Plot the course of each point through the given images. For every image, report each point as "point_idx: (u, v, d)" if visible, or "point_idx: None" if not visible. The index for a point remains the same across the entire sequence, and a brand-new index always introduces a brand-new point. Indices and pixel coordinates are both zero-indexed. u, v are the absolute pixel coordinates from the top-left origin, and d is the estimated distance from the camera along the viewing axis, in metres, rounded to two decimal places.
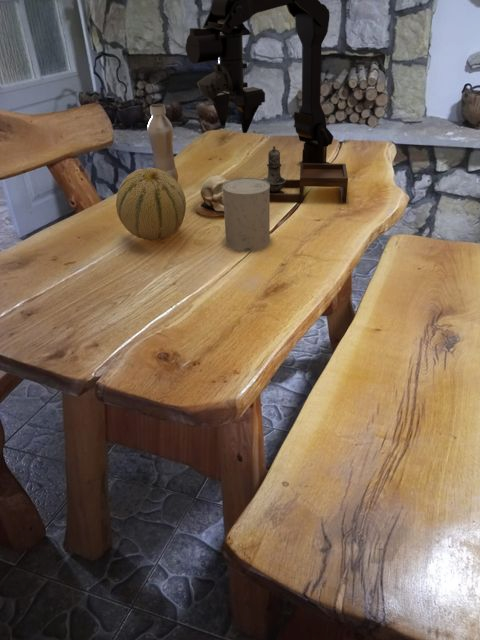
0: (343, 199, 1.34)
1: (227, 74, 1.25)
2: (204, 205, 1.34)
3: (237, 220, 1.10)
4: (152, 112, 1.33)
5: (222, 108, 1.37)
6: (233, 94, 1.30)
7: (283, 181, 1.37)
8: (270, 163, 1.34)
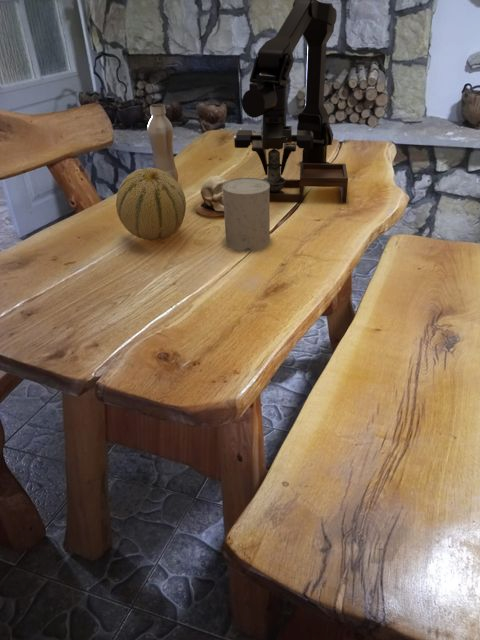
0: (343, 199, 1.34)
1: (284, 123, 1.27)
2: (204, 205, 1.34)
3: (237, 220, 1.10)
4: (152, 112, 1.33)
5: (266, 158, 1.35)
6: None
7: (283, 181, 1.37)
8: (270, 163, 1.34)
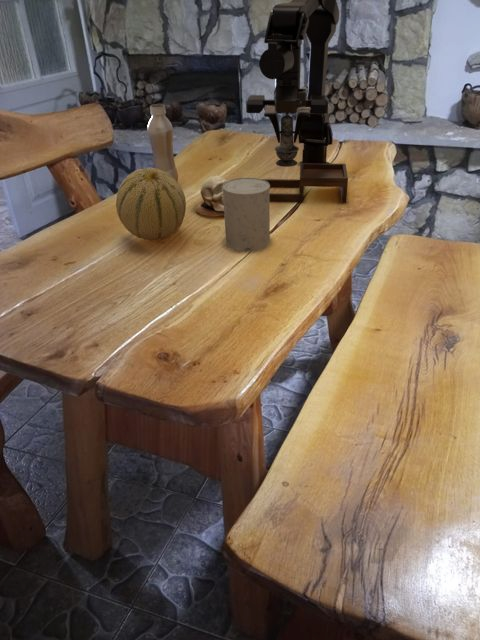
0: (343, 199, 1.34)
1: (298, 86, 1.22)
2: (204, 205, 1.34)
3: (237, 220, 1.10)
4: (152, 112, 1.33)
5: (278, 124, 1.30)
6: None
7: (296, 149, 1.32)
8: (283, 130, 1.29)
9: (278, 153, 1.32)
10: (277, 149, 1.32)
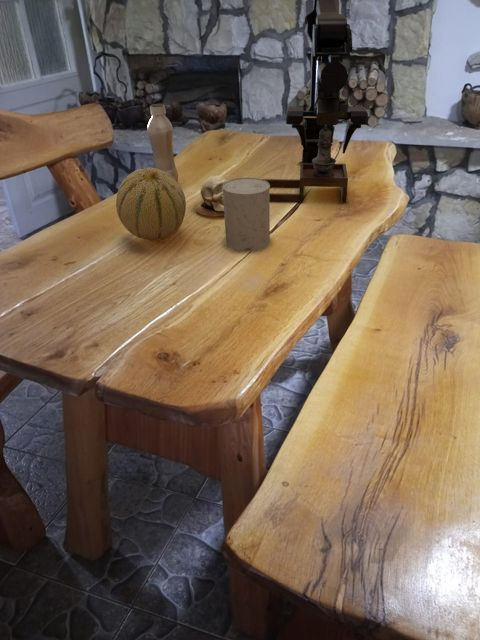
0: (343, 199, 1.34)
1: (339, 98, 1.23)
2: (204, 205, 1.34)
3: (237, 220, 1.10)
4: (152, 112, 1.33)
5: (305, 135, 1.31)
6: None
7: (334, 161, 1.33)
8: (321, 142, 1.31)
9: (316, 165, 1.33)
10: (315, 161, 1.33)
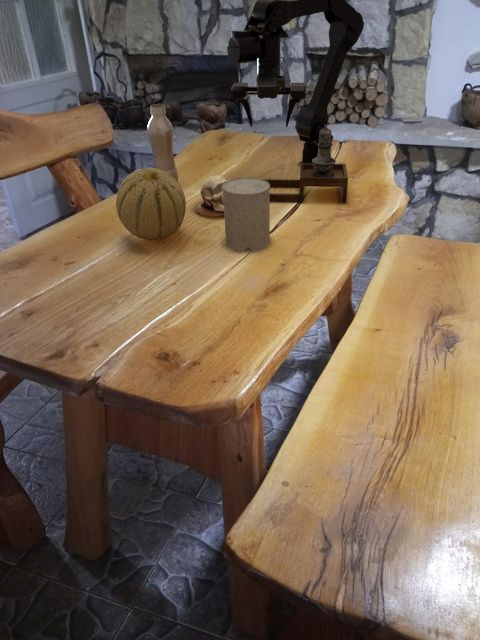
0: (343, 199, 1.34)
1: (278, 74, 1.33)
2: (204, 205, 1.34)
3: (237, 220, 1.10)
4: (152, 112, 1.33)
5: (250, 110, 1.42)
6: None
7: (334, 161, 1.33)
8: (321, 142, 1.31)
9: (316, 165, 1.33)
10: (315, 161, 1.33)
